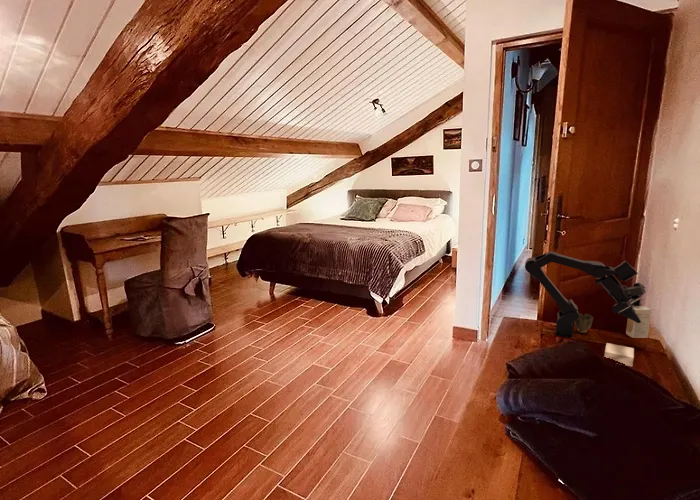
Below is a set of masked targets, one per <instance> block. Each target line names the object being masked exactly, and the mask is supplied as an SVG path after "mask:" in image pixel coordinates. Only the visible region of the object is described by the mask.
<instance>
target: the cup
mask: <svg viewBox="0 0 700 500" xmlns="http://www.w3.org/2000/svg"><path fill="white" fill-rule="evenodd" d="M578 314H579V316H578V318H577V320H575V321H573V323H574V327H575V328H577V332H578V333H580V334H586V333H587V332H588V330H590V329H591V328H592V324H593V322H594V321H593V320H594V316H592V315H591V314H590V313H589V314H587V313H585V314H582V312H578Z"/></svg>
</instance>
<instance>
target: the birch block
mask: <svg viewBox="0 0 700 500" xmlns="http://www.w3.org/2000/svg"><path fill="white" fill-rule="evenodd" d="M604 357H606V358H610V359H613V360H615V361H618V362H620V363H623V364H625V365H624V366H627V367H631V368H633V364H634V358H635V348H634V347H629V346H625V345H619V344H614V343H608V342H606V345H605V349H604Z"/></svg>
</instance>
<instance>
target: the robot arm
mask: <svg viewBox="0 0 700 500" xmlns="http://www.w3.org/2000/svg"><path fill="white" fill-rule="evenodd" d="M551 263H554V264H559V265H561V266H562V265H563V266H565V267H568V268H572V269H575V270H580V271H582V272H584V273H586V274H587V275H589V276H591V277H594V278H595V281H594V285H595V286H597V285H599V284H600V285H601V286H602V287H603V288H604V290H606V291H607V293H608V297H612V298H613V299H614V301H615V304H614V305H613V306H612V307H611V311H612V312H613V314H615V315H616V314H618V315H621V316H623V317H626V318H627V319H628V318H629V319H631V320H633V321H635V322H637V323H641V321H640V319H639V317H638V316H637V315H636V313H635V312H634V310H633V307H634V306H642V300H643V299H642V297H643V295H644V294H646V290H645V289H646V286H644V284H642V283H640V282H634V284H633V286H630V287H628V286H627V285H622V284H621V281H622V282H627V281H628V280H630V279H632V278H634V277H635V276H637V275H638V274H639V273H638V272H637V271H636V269H635V268H634V267H633V266H632V265H631V264H629V263H628V261H626V260H624V261H623V262H620V264H618V265H617V266H615V267H613V266H609V265H605V264H604V263H603V262H601V261H598V260H582V259H580V258H575V257H572V256H567V255H564V254H561V253H557V252H554V251H547V252H546V253H542V254H541V255H538V256H535V257H528V258H527V259H526V260H525V263H524V270H526V272H527V273H528V274H530V275H531V276H532V277H533V278H535V279H536V280H538V282H539V283H540V284H541V285H542V286H543V289H545V290H546V292H547V293H548V294H549V295H550V297H551V298H552V299H553V300H554V301H555V303H556V305H558V308H559V311H558V312H557V319H556V321H555V322H556V323H555V332H554V336H559V337H563V338H564V337H565V338H569V339H571V338H572V337H573V336H574V330H575V324H573V323H574V321H575V320H577V318H578V316H579V314H578V313H579V308H578V305H577V304H575V302H574V301H573V299H572V298H570V299H569V300H568V299H567V298H566V297H565V295H563V294H562V293H561V291H560V290H559V289H558V288H557V286H556V285H555V283H553V281H552V280H551V279H550V278H549V277H548V275H547V274H546V272H545V271H544V267H545V266H546V265H547V266H548V264H551Z"/></svg>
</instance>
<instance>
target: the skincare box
mask: <svg viewBox="0 0 700 500" xmlns="http://www.w3.org/2000/svg"><path fill="white" fill-rule="evenodd" d="M633 310H634V312H635V313H636V315H637V316H638V317H639V319H640V321H641V323H637V322H635V321H633V320H631V319H629V318H627V321H626V330H625V334H626V335H628V336H629V337H630V338H634V339H637V338H638V339H639V338H643V339H646V338H648V337H649V330H650V322H651V321H650V320H651V315H652V314H651V313H652V309H651V308H649V307H647V306H646V305H641V306H634V307H633Z"/></svg>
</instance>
